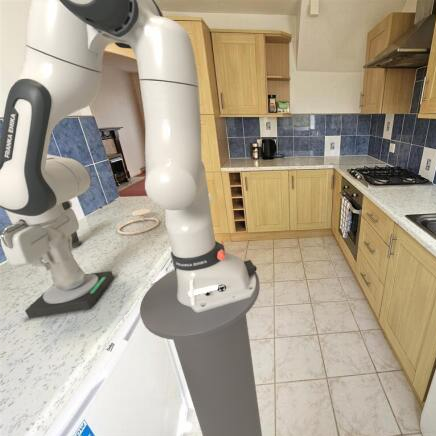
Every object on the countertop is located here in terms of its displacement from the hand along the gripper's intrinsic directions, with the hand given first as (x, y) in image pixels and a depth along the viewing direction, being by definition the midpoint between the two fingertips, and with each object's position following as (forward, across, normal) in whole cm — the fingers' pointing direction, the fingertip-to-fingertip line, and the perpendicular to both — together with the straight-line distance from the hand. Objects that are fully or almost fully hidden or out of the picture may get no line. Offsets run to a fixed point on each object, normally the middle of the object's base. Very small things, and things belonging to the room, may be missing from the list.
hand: (57, 260), depth 65 cm
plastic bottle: (+9, 0, -1) cm, 9 cm away
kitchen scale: (+12, 0, 0) cm, 12 cm away
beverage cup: (+12, +34, +18) cm, 41 cm away
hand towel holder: (+12, +49, -2) cm, 51 cm away
